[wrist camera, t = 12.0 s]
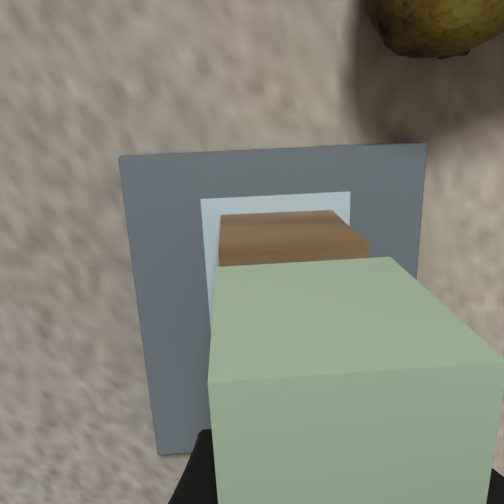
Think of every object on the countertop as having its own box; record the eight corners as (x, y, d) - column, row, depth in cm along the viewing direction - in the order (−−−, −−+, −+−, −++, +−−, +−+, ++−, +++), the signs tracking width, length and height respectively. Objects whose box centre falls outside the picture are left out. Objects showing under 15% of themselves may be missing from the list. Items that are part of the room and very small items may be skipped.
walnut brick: (327, 398, 21) (357, 485, 16) (231, 404, 20) (232, 493, 16) (331, 209, 18) (369, 245, 13) (220, 214, 18) (218, 253, 13)
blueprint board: (398, 425, 22) (404, 437, 21) (160, 442, 22) (157, 455, 21) (418, 141, 18) (427, 143, 17) (122, 155, 17) (118, 157, 17)
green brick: (375, 521, 14) (450, 730, 9) (235, 533, 14) (239, 752, 9) (390, 256, 11) (508, 361, 7) (215, 266, 11) (207, 382, 6)
